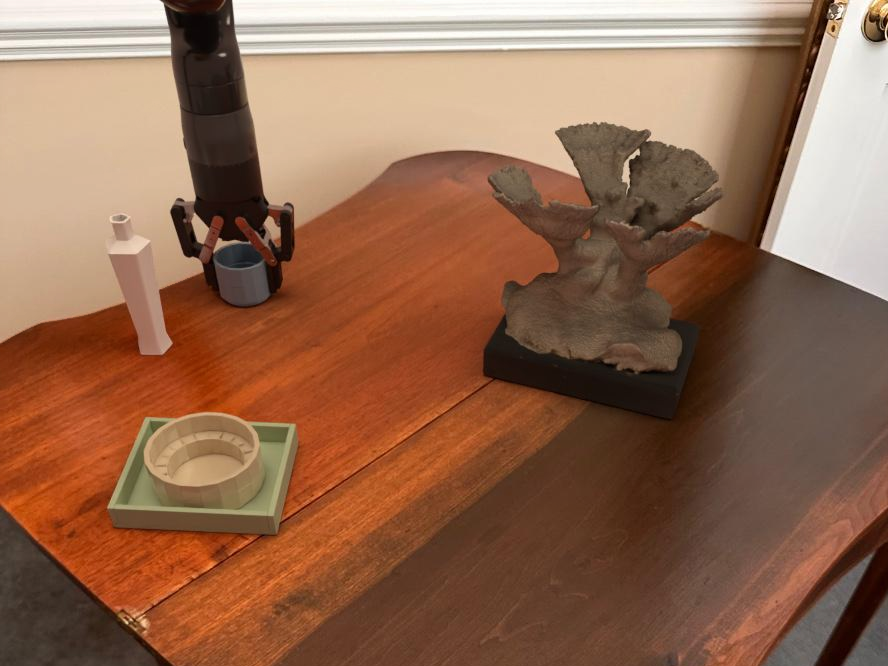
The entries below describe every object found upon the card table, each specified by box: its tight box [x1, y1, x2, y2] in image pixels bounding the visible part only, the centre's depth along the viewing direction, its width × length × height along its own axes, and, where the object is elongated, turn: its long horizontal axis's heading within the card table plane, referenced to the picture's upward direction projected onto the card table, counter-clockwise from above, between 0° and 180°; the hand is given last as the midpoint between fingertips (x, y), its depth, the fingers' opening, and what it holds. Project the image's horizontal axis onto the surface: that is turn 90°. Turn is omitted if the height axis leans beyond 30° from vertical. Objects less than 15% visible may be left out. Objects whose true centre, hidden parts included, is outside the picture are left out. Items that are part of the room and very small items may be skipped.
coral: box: [482, 121, 725, 420], centre depth 93 cm, size 25×20×22 cm
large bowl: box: [144, 411, 265, 510], centre depth 83 cm, size 11×11×4 cm
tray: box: [106, 416, 299, 536], centre depth 84 cm, size 15×13×2 cm
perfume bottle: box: [105, 212, 174, 356], centre depth 93 cm, size 5×4×15 cm
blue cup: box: [213, 241, 272, 307], centre depth 105 cm, size 6×6×5 cm
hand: (245, 288), depth 106 cm, fingers closed on blue cup, 6 cm apart
